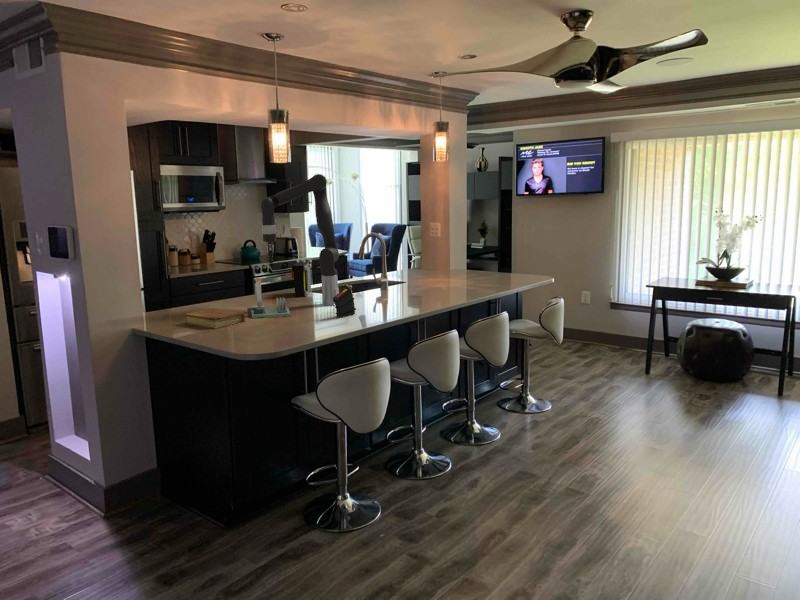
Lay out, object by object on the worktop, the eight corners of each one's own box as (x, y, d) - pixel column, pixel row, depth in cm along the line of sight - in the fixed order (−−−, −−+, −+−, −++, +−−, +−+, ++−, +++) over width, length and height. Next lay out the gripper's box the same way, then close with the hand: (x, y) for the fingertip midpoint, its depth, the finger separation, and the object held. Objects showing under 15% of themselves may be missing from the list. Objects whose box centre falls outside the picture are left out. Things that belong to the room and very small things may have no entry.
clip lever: (252, 308, 335) (250, 277, 332) (263, 307, 337) (261, 277, 334) (252, 310, 330) (250, 279, 327) (263, 309, 332) (262, 278, 329)
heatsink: (247, 311, 335) (247, 299, 334) (285, 309, 340) (284, 297, 339) (248, 317, 319) (247, 304, 318) (287, 315, 324) (286, 302, 323)
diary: (245, 323, 307) (244, 312, 306) (215, 330, 292) (215, 318, 291) (214, 318, 320) (214, 307, 319) (185, 324, 304) (184, 313, 303)
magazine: (359, 310, 327) (350, 287, 319) (344, 324, 319) (334, 301, 312) (355, 310, 329) (345, 286, 322) (339, 323, 321) (329, 300, 314)
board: (251, 310, 338) (251, 308, 337) (287, 308, 343) (287, 306, 342) (252, 318, 317) (251, 315, 316) (290, 316, 322) (290, 313, 321)
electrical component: (308, 297, 382) (306, 265, 378) (291, 297, 382) (290, 265, 378) (312, 292, 399) (311, 262, 395) (297, 292, 399) (296, 262, 396)
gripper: (262, 232, 351) (264, 262, 353) (262, 233, 338) (264, 264, 341) (275, 232, 352) (277, 262, 355) (276, 233, 340) (278, 264, 342)
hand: (271, 263), depth 348 cm, fingers closed
